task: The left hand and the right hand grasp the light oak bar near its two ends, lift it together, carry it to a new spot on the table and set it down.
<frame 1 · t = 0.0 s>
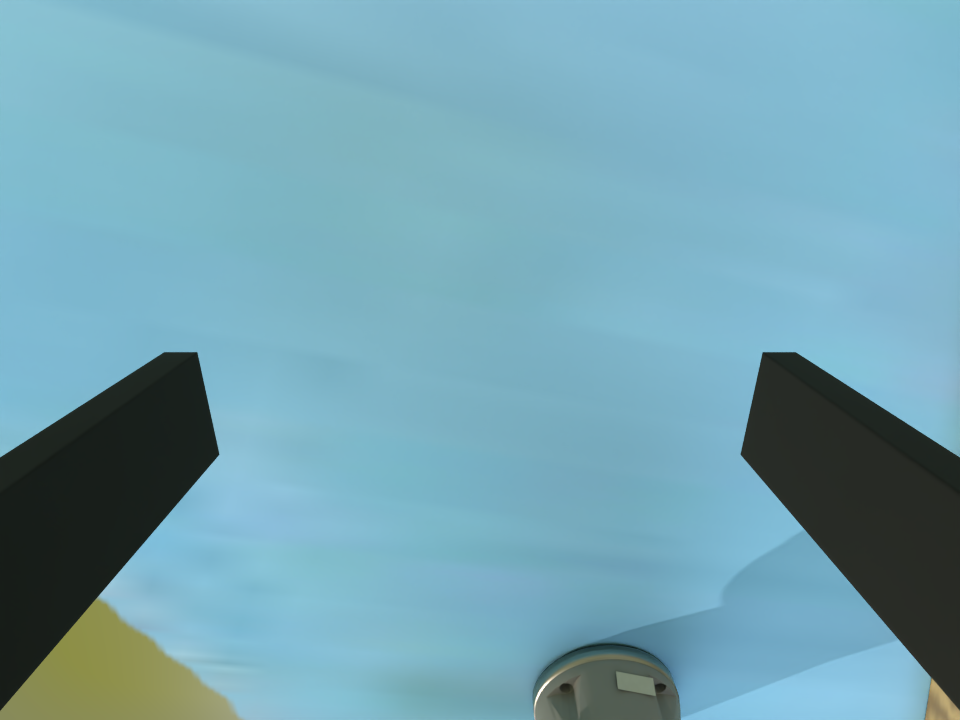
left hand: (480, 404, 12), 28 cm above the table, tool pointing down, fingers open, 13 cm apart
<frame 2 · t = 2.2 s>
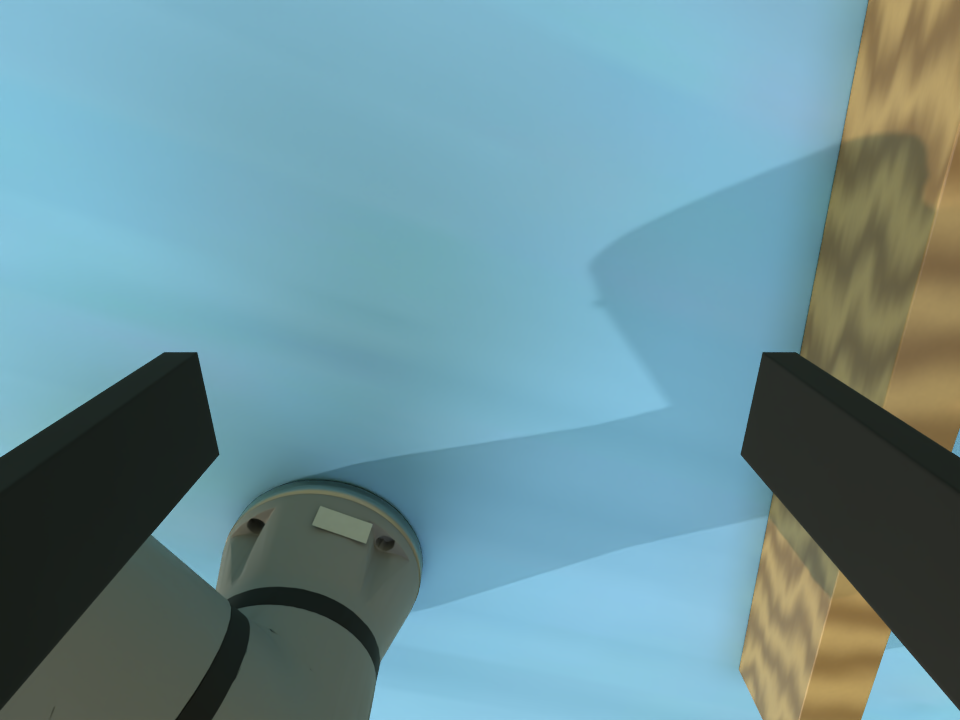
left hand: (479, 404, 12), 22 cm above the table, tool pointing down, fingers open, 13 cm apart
bar: (838, 327, 34), on the table
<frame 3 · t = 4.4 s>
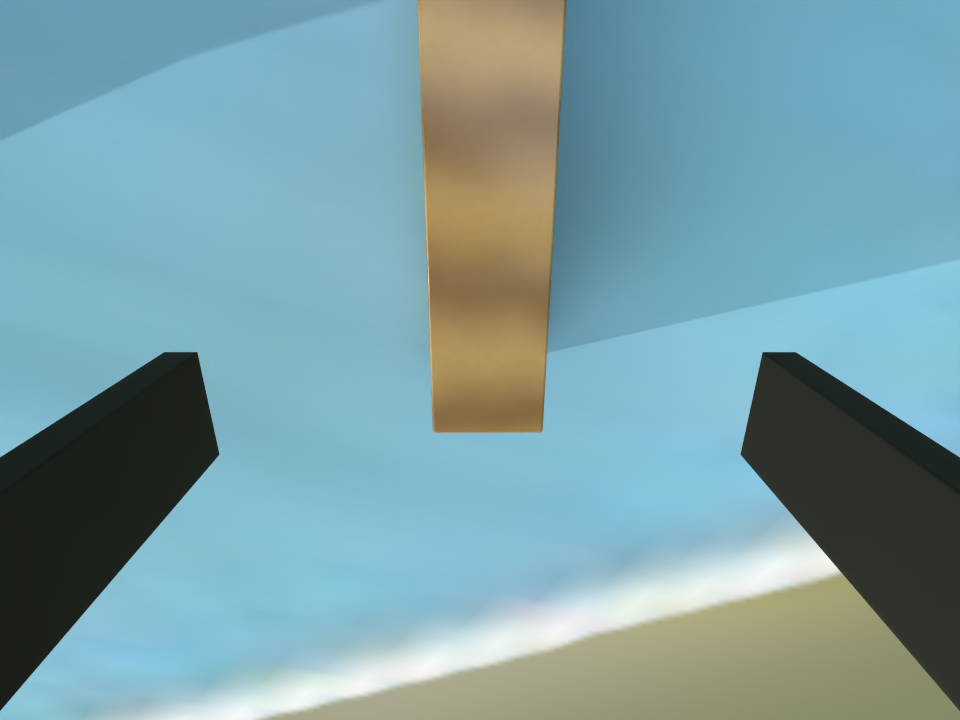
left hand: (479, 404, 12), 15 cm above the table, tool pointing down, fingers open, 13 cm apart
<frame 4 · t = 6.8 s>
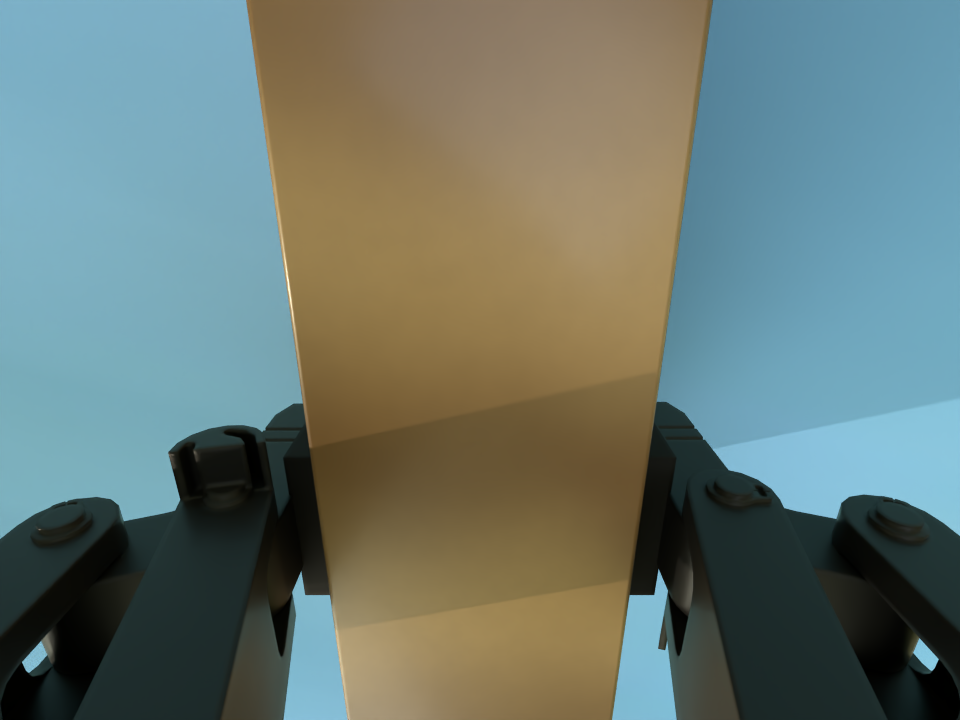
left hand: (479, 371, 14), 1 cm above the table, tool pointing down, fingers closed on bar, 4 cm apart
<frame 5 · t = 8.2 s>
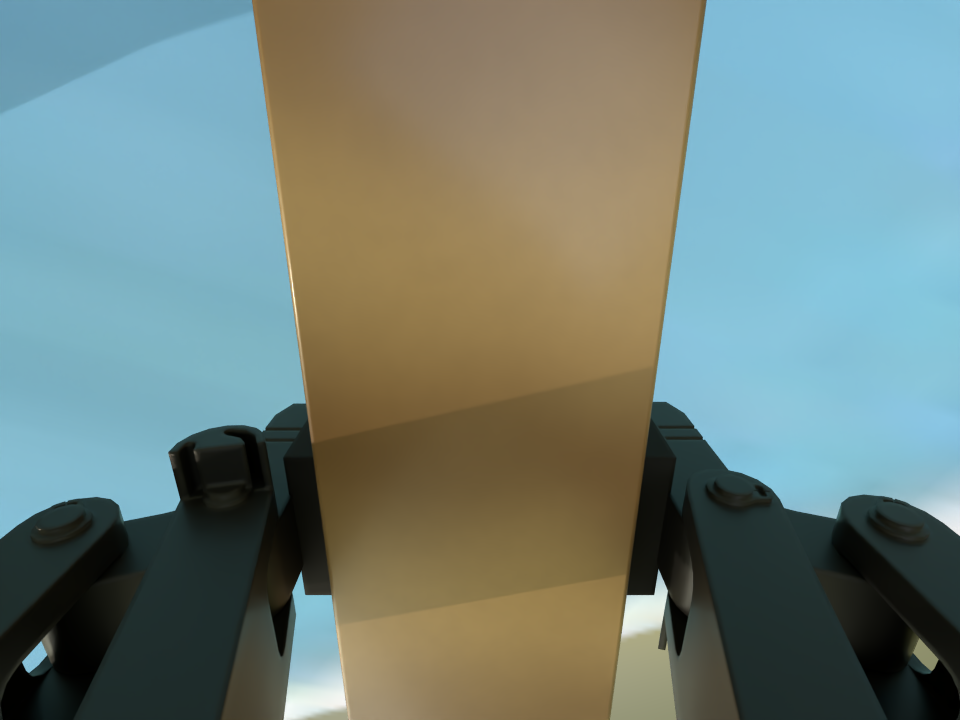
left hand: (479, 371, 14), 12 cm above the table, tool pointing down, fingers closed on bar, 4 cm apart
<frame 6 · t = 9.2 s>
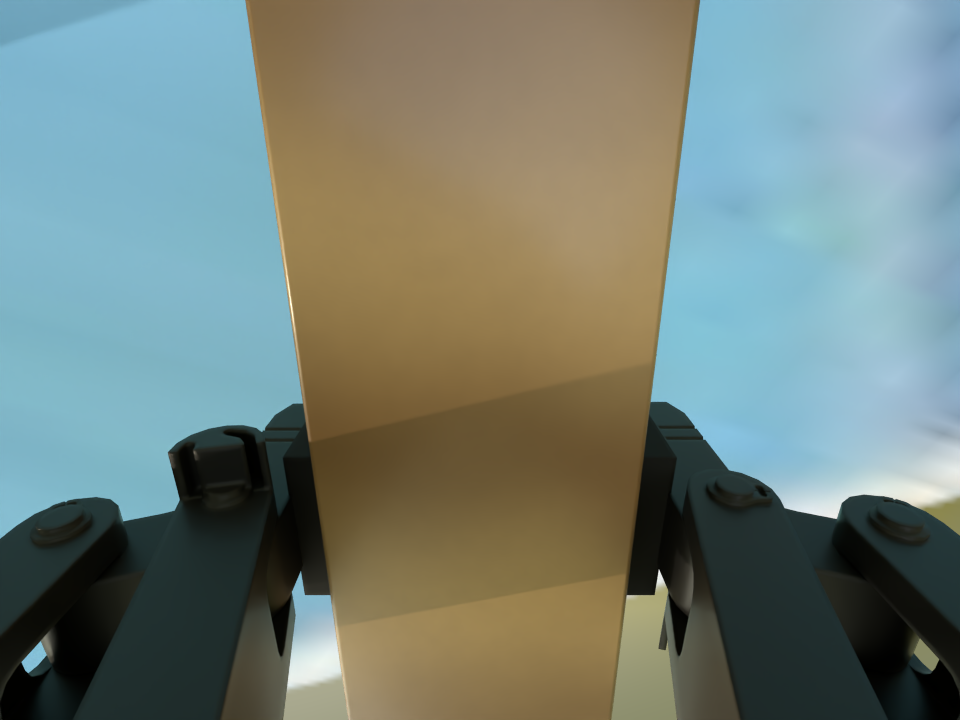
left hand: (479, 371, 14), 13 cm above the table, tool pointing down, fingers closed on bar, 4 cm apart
when the left hand's fingers open (2 cm above the table, at t = 12.0 s): bar drops 1 cm, on the table.
when the right hand's fingers open (4 cm above the table, at t = 12.2 s): bar stays where it is, on the table.
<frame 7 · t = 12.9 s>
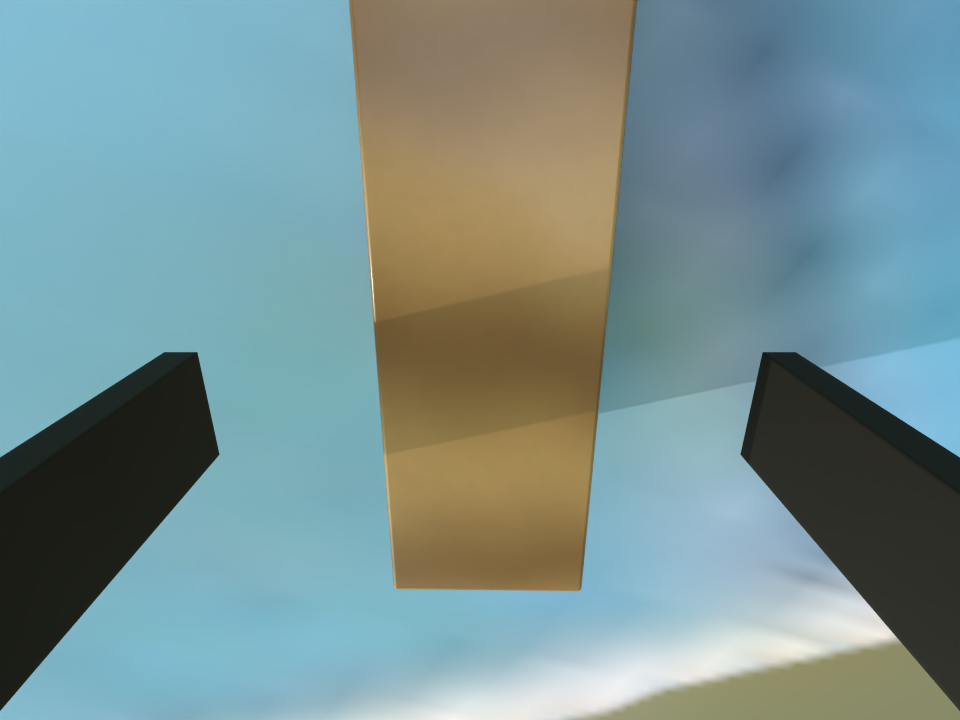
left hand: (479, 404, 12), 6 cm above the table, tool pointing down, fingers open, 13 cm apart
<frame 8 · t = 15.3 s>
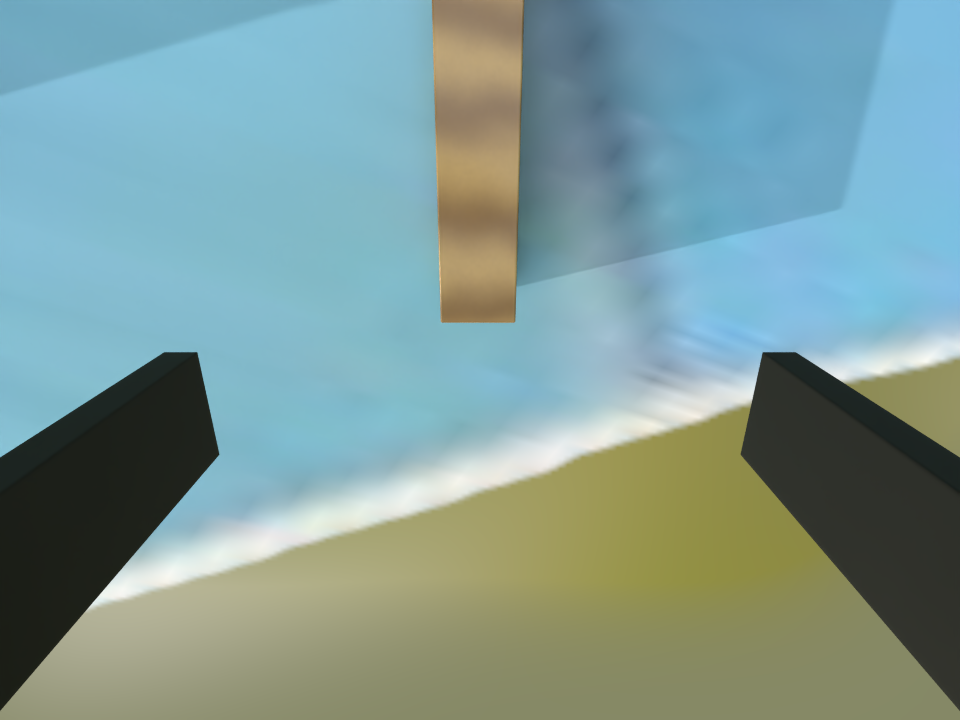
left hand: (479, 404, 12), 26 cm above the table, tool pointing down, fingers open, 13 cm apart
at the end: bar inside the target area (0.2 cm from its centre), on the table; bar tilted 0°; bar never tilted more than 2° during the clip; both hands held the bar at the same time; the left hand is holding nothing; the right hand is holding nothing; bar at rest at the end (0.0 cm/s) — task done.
